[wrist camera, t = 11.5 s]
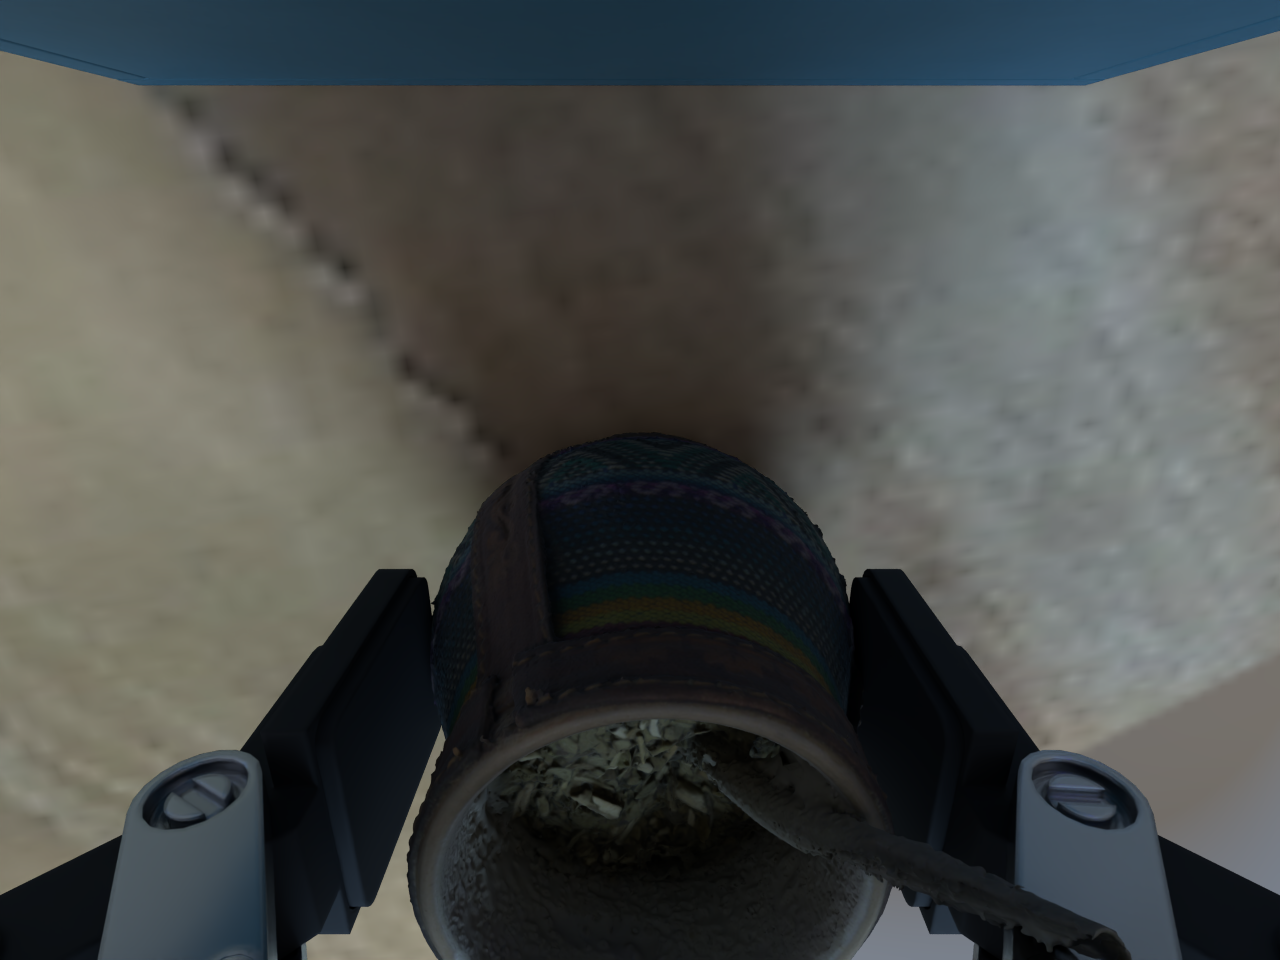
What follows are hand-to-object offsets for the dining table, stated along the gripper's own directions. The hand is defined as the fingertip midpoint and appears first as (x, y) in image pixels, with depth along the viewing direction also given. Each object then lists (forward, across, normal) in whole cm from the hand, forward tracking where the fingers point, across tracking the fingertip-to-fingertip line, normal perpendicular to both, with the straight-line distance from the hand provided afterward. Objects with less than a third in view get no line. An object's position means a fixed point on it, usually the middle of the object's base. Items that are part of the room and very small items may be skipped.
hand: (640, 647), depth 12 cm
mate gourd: (+4, 0, 0) cm, 4 cm away
